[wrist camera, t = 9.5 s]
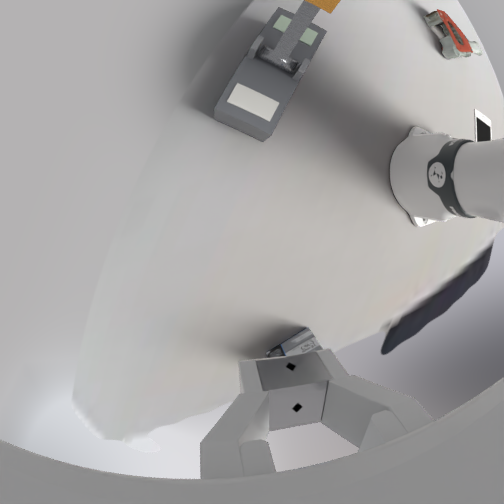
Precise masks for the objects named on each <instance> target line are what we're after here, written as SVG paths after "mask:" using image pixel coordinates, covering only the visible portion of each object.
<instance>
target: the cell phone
mask: <svg viewBox="0 0 504 504" xmlns="http://www.w3.org/2000/svg"><path fill="white" fill-rule="evenodd" d="M474 111H475V142H482V141H491V140H492V135H491V121H490V119H488V118H487V117H486V116H484V115H483V114H482V113H480V112H479V111H478V110H476V109H474Z"/></svg>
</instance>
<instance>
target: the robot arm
mask: <svg viewBox="0 0 504 504" xmlns="http://www.w3.org/2000/svg"><path fill="white" fill-rule="evenodd" d="M390 181H391V186H392V190H393V193H394V195H395V197H396V199H397V201H398V202H399V204H400V205H401V206H402V207H403V208H404V209H405V210H406V211H407V212H408V213H409V215H410V217H411V220H412V222H413V224H414V225H415V226H419V227H421V226H424V225H427V224H431V223H434V222H437V221H441V222H446V221H447V220H448V219H452V218H454V217H456V216H459V217H463V218H475V217H481V218H485V219H490V220H494V221H498V222H503V223H504V138H502V139H497V140H491V141H482V142H474V141H472V140H465V139H456V138H451V136H450V135H445V133H430V132H428V131H426V130H424V129H422V128H420V127H413V128H412V129H411V131H410V133H409V135H408V137H407V138H406V139H405V140H404V141H402V142H401V143H400V144H399V145H398V146H397V148H396V149H395V151H394V153H393V156H392V159H391V164H390ZM238 365H239V380H240V392H241V394H239V395H238V396H237V398H236V399H235V400H234V402H233V403H232V404H231V405H230V407H229V408H228V409H227V411H226V412H225V413H224V414H223V416H222V417H221V418H220V419H219V421H218V422H217V423H216V424H215V426H214V427H213V428H212V429H211V431H210V432H209V433H208V434H207V435H206V437H205V438H204V439H203V440H202V442H201V443H200V472H201V479H167V478H152V477H141V476H132V475H124V474H117V473H111V472H105V471H99V470H94V469H89V468H85V467H80V466H77V465H72V464H69V463H65V462H61V461H58V460H54V459H51V458H48V457H44V456H41V455H38V454H35V453H33V452H30V451H27V450H25V449H22V448H19V447H17V446H14V445H12V444H9V443H7V442H5V441H2V440H0V504H504V377H503V378H502V379H501V380H499V381H498V382H496V383H495V384H494V385H492V386H491V387H489V388H488V389H487V390H485V391H484V392H482V393H481V394H479V395H478V396H476V397H475V398H473V399H471V400H470V401H468V402H467V403H465V404H463V405H462V406H460V407H458V408H457V409H455V410H453V411H451V412H450V413H448V414H446V415H444V416H442V417H440V418H439V419H437V420H435V421H434V420H433V418H432V417H431V416H430V415H429V414H428V413H427V411H426V410H425V409H424V408H423V407H422V406H421V405H420V403H419V402H418V401H417V400H416V399H415V398H413V397H410V396H408V395H405V394H402V393H399V392H396V391H394V390H391V389H388V388H386V387H383V386H380V385H378V384H375V383H373V382H370V381H367V380H365V379H362V378H360V377H357V376H355V375H351V376H349V374H348V373H347V372H346V370H345V369H344V367H343V366H342V365H341V363H340V362H339V360H338V359H337V358H336V356H335V355H334V353H333V352H332V351H331V349H329V348H328V349H323V350H318V351H314V352H310V353H304V354H297V355H291V356H281V357H271V358H261V359H255V360H254V359H250V360H239V363H238ZM317 422H321V423H322V424H324V425H325V426H327V427H328V428H330V429H331V430H332V431H334V432H336V433H337V434H338V435H340V436H341V437H343V438H344V439H346V440H348V441H349V442H351V443H352V444H354V445H355V446H357V447H358V448H359V450H358V453H355V454H352V455H349V456H346V457H342V458H339V459H336V460H332V461H328V462H324V463H320V464H316V465H312V466H307V467H303V468H298V469H293V470H288V471H282V472H276V470H275V466H274V463H273V459H272V455H271V451H270V448H269V444H268V442H266V441H265V440H266V438H267V436H268V434H269V431H274V430H279V429H285V428H290V427H295V426H300V425H306V424H312V423H317Z"/></svg>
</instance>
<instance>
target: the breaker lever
mask: <svg viewBox="0 0 504 504" xmlns="http://www.w3.org/2000/svg"><path fill="white" fill-rule="evenodd" d="M339 2H340V0H304V1H303V3H302V4H301V6H300V8H299V9H298V11H297V12H296V14H295V16H294V17H293V19H292V20H291V22H290V24H289V25H288V27H287V29H286V30H285V32H284V34H283V35H282V37H281V39H280V41H279V42H278V44H277V46H276V47H275V49H272V48H270V47H268V46H265V45H263V47H262V48H261V50H260V52H259V54H258V56H257V57H258V58H261V59H263V60H265V61H267V62H269V63H271V64H273V65H275V66H277V67H279V68H281V69H283V70H285V71H287V72H289V73H291V74H292V72H293V71H294V69H295V68H296V66H297V64H298V61H296V60H294V59H292V58H290V57H289V55H290V54H291V52H292V50H293V49H294V47H295V46H296V44H297V43H298V41H299V40H300V38H301V36H302V35H303V33H304V32H305V30H306V29H307V27H308V26H309V24H310V23H311V21H312V20H313V19H314V17H315V16H316V14H317V13H318V11H319V10H320V8H321V9H323V10H325V11H327V12H328V13H330V14H331V12H332V11H333V10H334V8H335V7H336V6H337V4H338V3H339Z"/></svg>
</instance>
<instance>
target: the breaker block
mask: <svg viewBox="0 0 504 504" xmlns="http://www.w3.org/2000/svg"><path fill="white" fill-rule="evenodd" d="M294 16H295V14H293V13H291V12H289V11H287V10H284V9H282V8H280V7H278V9H277V10H276V12H275V13H274V14H273V16H272V17H271V18H270V20H269V21H268V23H267V24H266V26H265V27H264V28H263V30H262V31H261V33H260V34H259V35H258V37H257V38H256V40H255V41H254V43H253V44H252V46H251V47H250V49H249V51H248V53H247V54H246V56H245V57H244V59H243V60H242V62H241V64H240V65H239V67H238V68H237V70H236V72H235V73H234V75H233V77H232V78H231V80H230V82H229V83H228V85H227V87H226V89H225V90H224V92H223V94H222V96H221V97H220V99H219V101H218V103H217V104H216V106H215V108H214V120H217V121H219V122H221V123H223V124H226V125H228V126H230V127H232V128H235V129H237V130H239V131H241V132H243V133H245V134H247V135H249V136H252V137H254V138H256V139H258V140H260V141H262V142H264V141H265V140H266V139H267V138H269V137H270V136H271V135H272V133H273V131H274V129H275V127H276V125H277V123H278V121H279V119H280V117H281V116H282V114H283V112H284V110H285V108H286V106H287V104H288V102H289V100H290V98H291V96H292V94H293V93H294V91H295V89H296V87H297V85H298V83H299V81H300V79H301V77H302V76H303V74H304V72H305V71H306V69H307V67H308V65H309V63H310V61H311V59H312V57H313V55H314V54H315V52H316V50H317V48H318V46H319V45H320V43H321V41H322V39H323V37H324V36H325V34H326V32H327V31H326V30H324V29H322V28H320V27H319V26H317V25H315V24H313V23H310V24H309V26H308V27H307V29H306V30H305V32H304V33H303V35H302V36H301V38H300V40H299V41H298V43H297V44H296V46H295V47H294V49H293V50H292V52H291V54H290V55H289V57H290V58H292V59H294V60H296V61H298V64H297V66H296V68H295V69H294V71H293V72H292V74H291V73H289V72H287V71H285V70H283V69H281V68H279V67H277V66H275V65H273V64H271V63H269V62H267V61H265V60H263V59H261V58H258V57H257V56H258V54H259V52H260V50H261V48H262V47H263V45H265V46H268V47H270V48H272V49H275V47H276V46H277V44H278V42H279V41H280V39H281V37H282V35H283V34H284V32H285V30H286V29H287V27H288V25H289V24H290V22H291V20H292V19H293V17H294Z"/></svg>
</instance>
